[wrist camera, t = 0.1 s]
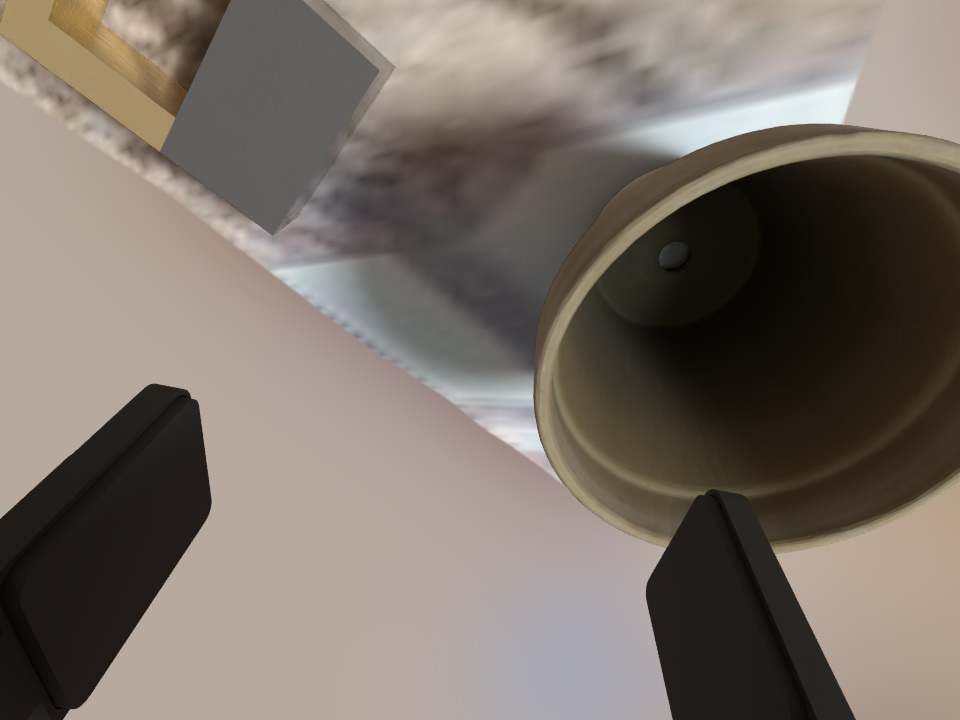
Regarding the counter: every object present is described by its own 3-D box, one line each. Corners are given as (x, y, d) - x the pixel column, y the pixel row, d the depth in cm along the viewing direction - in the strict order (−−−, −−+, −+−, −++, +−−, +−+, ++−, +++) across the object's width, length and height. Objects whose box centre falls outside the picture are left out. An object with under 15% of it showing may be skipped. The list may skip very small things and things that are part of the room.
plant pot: (896, 105, 38) (1254, 167, 19) (769, 384, 51) (910, 581, 32) (552, 73, 38) (579, 103, 20) (514, 358, 51) (509, 537, 33)
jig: (55, 32, 39) (-2, 32, 35) (124, -184, 32) (64, -218, 28) (296, 217, 45) (273, 235, 41) (395, 67, 39) (379, 70, 34)
